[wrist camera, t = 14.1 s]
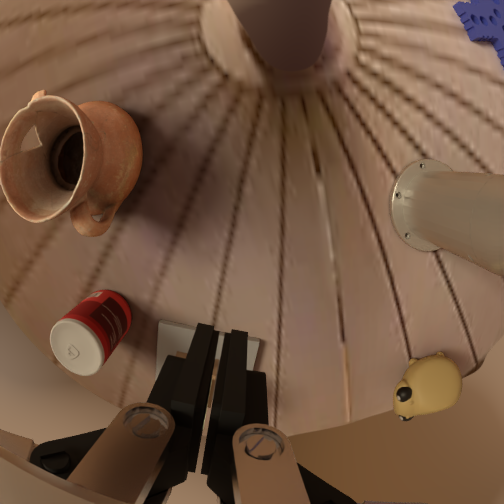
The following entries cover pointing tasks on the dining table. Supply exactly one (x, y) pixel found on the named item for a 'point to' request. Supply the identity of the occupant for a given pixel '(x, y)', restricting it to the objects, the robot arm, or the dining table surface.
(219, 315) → the dining table surface
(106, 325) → the canned food
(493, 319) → the dining table surface
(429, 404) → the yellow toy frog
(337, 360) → the dining table surface
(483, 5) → the building block
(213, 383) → the walnut brick
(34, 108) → the ceramic jug
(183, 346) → the plate
